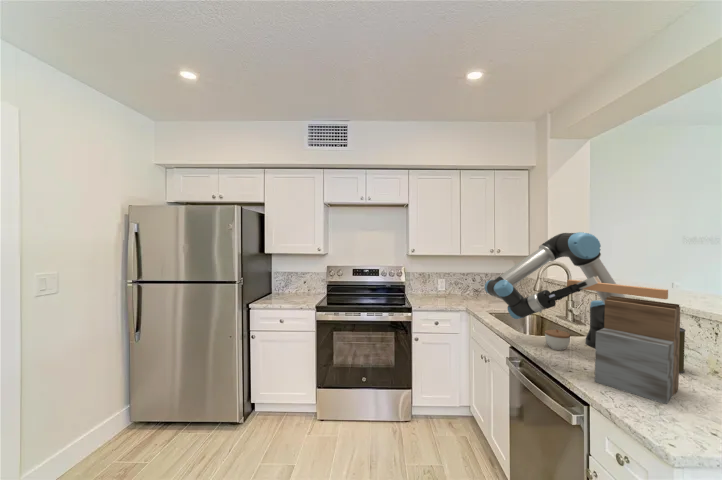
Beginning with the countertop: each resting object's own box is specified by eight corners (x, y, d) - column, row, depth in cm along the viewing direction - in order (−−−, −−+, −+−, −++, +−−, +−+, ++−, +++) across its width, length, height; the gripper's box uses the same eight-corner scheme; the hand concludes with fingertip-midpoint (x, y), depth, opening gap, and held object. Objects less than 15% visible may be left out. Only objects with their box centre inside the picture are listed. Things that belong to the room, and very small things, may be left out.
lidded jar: (575, 351, 155) (575, 331, 155) (556, 352, 153) (556, 333, 153) (557, 344, 166) (557, 325, 166) (539, 345, 164) (539, 326, 164)
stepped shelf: (611, 370, 133) (612, 295, 133) (678, 389, 117) (680, 303, 117) (594, 381, 122) (596, 299, 122) (666, 404, 106) (668, 309, 106)
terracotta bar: (570, 286, 134) (570, 279, 134) (668, 298, 110) (668, 289, 110) (567, 287, 133) (567, 280, 133) (665, 299, 109) (666, 290, 109)
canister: (647, 361, 143) (648, 316, 143) (679, 366, 138) (680, 320, 138) (654, 370, 134) (655, 322, 134) (689, 376, 129) (690, 326, 129)
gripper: (554, 307, 145) (610, 287, 129) (537, 311, 136) (595, 290, 119) (546, 291, 148) (599, 269, 132) (528, 294, 139) (583, 271, 122)
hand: (597, 279), depth 126 cm, fingers closed on terracotta bar, 3 cm apart
